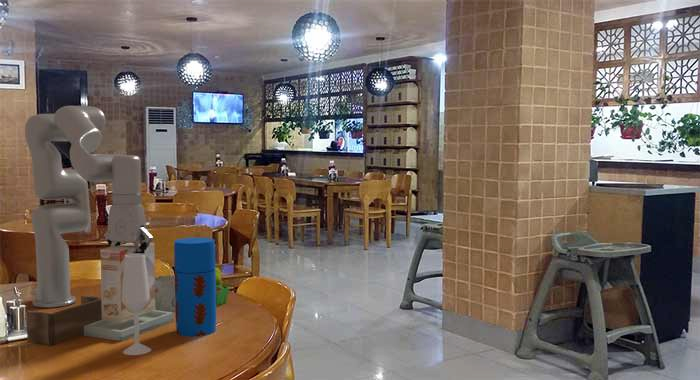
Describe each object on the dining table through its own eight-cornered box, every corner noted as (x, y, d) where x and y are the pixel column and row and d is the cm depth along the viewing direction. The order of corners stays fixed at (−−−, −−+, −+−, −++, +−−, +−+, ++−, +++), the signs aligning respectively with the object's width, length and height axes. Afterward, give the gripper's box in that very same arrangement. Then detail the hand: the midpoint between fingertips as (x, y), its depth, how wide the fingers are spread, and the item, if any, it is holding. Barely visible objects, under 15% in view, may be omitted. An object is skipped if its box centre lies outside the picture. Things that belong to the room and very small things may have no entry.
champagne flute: (124, 356, 162) (121, 258, 160) (121, 348, 168) (119, 253, 166) (152, 353, 165) (150, 256, 163) (149, 345, 171) (147, 252, 169)
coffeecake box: (122, 323, 178) (120, 250, 176) (100, 320, 180) (98, 248, 179) (157, 309, 192) (155, 242, 190) (136, 307, 194) (134, 240, 193)
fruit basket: (187, 304, 213) (187, 269, 212) (203, 298, 221) (203, 264, 220) (218, 307, 209) (217, 271, 208) (233, 301, 217) (233, 266, 216)
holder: (27, 341, 174) (26, 311, 173) (84, 322, 191) (83, 295, 191) (51, 345, 170) (50, 314, 170) (107, 326, 188) (106, 298, 187)
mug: (172, 314, 201) (171, 281, 200) (133, 312, 203) (133, 279, 202) (184, 307, 209) (184, 275, 208) (147, 305, 211) (146, 274, 210)
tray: (83, 335, 179) (83, 326, 179) (137, 316, 199) (137, 307, 198) (121, 341, 174) (121, 331, 174) (173, 321, 193) (173, 312, 193)
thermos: (180, 338, 176) (179, 244, 174) (171, 328, 186) (170, 239, 184) (221, 333, 181) (220, 241, 179) (210, 323, 191) (209, 236, 189)
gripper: (92, 200, 184) (94, 264, 185) (143, 202, 177) (144, 269, 178) (112, 198, 190) (114, 259, 192) (161, 200, 184) (163, 264, 185)
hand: (128, 263), depth 185 cm, fingers closed on coffeecake box, 7 cm apart
